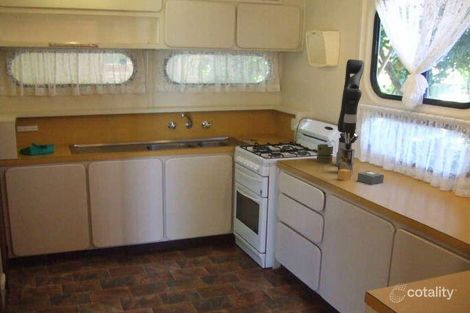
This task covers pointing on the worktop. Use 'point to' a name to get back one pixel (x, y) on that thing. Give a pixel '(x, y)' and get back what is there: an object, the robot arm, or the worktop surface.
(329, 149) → the piston
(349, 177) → the orange matte cube
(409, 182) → the worktop surface
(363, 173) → the grey square block
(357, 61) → the robot arm
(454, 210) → the worktop surface
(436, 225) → the worktop surface
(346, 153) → the coffee box
